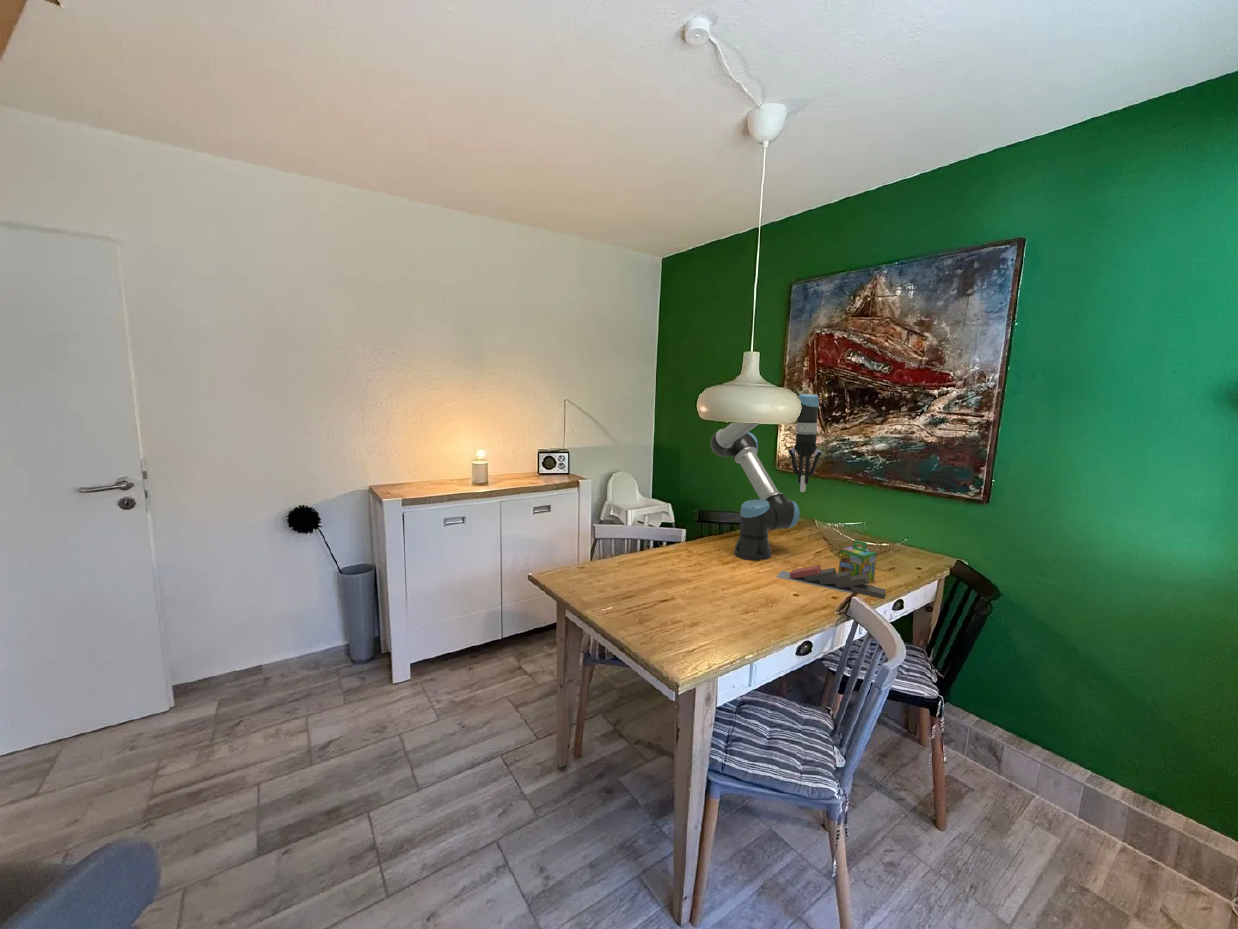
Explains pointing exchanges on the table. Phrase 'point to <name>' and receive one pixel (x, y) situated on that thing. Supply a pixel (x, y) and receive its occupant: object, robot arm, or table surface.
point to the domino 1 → (805, 571)
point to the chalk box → (858, 560)
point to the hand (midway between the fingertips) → (802, 491)
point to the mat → (813, 582)
